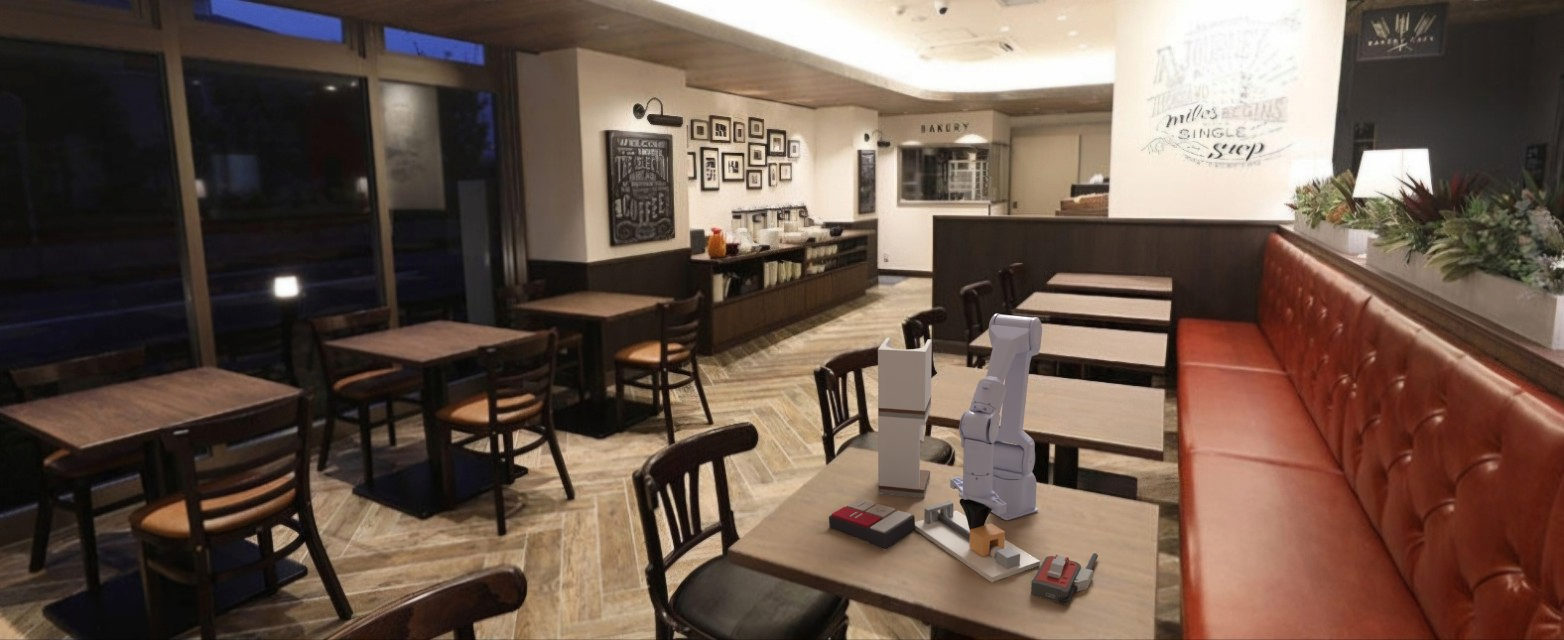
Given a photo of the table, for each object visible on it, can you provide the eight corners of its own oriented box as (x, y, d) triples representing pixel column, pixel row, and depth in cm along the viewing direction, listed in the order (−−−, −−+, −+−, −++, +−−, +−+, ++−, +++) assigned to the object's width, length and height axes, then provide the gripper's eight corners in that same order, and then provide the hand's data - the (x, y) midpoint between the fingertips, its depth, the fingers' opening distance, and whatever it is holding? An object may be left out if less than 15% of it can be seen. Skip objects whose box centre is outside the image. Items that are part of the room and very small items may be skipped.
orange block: (990, 541, 160) (991, 523, 159) (1004, 549, 157) (1004, 531, 156) (969, 547, 158) (969, 529, 157) (982, 556, 154) (983, 538, 153)
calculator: (858, 496, 178) (915, 512, 167) (859, 514, 178) (916, 531, 168) (827, 513, 170) (884, 531, 160) (828, 531, 171) (885, 551, 160)
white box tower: (923, 498, 183) (925, 351, 176) (878, 493, 186) (878, 349, 179) (929, 478, 194) (931, 339, 186) (886, 474, 197) (886, 337, 189)
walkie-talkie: (1077, 613, 138) (1101, 562, 154) (1079, 590, 137) (1102, 541, 153) (1026, 599, 142) (1054, 551, 159) (1028, 577, 142) (1055, 530, 158)
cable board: (956, 514, 175) (956, 496, 174) (1039, 565, 153) (1040, 545, 152) (911, 527, 169) (911, 509, 168) (991, 582, 148) (992, 561, 147)
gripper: (938, 461, 161) (937, 523, 164) (987, 487, 148) (984, 553, 151) (966, 454, 164) (964, 515, 167) (1015, 479, 152) (1013, 544, 154)
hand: (976, 533), depth 159 cm, fingers closed
